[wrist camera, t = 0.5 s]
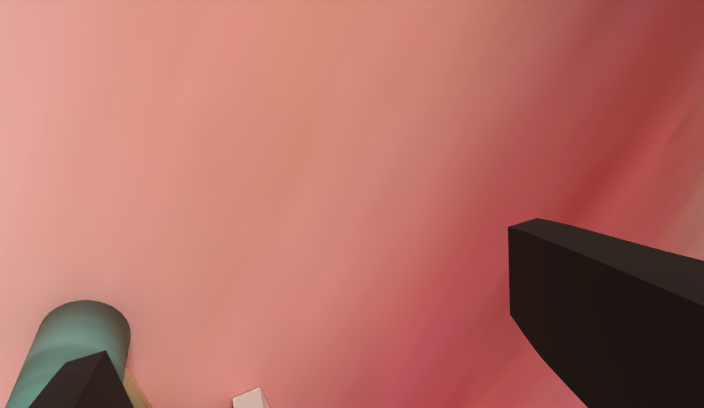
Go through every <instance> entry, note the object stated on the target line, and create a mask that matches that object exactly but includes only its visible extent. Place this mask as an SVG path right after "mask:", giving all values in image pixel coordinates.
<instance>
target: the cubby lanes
mask: <svg viewBox="0 0 704 408" xmlns="http://www.w3.org/2000/svg"><path fill="white" fill-rule="evenodd" d="M233 407H234V408H269V406H268V404H267V402H266V399H265V397H264V395H263V393H262V391H261V389H260V387H258V388H256V389H253V390H251V391H249V392H246V393H244V394H242V395H239V396H237V397H234V398H233Z"/></svg>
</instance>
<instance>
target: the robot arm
mask: <svg viewBox="0 0 704 408" xmlns="http://www.w3.org/2000/svg"><path fill="white" fill-rule="evenodd" d="M508 244H509V289H510V315H511V316H512V318H513V319H514V321H515V322H516V323H517V325H518V326H519V328H520V329H521V331H522V332H523V334H524V335H525V336H526V338H527V339H528V340H529V342H530V343H531V345H532V346H533V347H534V349H535V350H536V351H537V353H538V354H539V355H540V357H541V358H542V359H543V360H544V361H545V362H546V363H547V364H548V365H549V367H550V368H551V369H552V370H553V371H554V372H555V373H556V374H557V375H558V376H559V377H560V378H561V380H562V381H563V382H564V383H565V384H566V385H567V386H568V387H569V388H570V389H571V390H572V391H573V392H574V393H575V394H576V396H577V397H578V398H579V399H580V400H581V401H582V402H583V403H584V404H585V405H586V406H587V407H588V408H704V261H702V260H698V259H694V258H690V257H686V256H682V255H678V254H674V253H670V252H666V251H663V250H659V249H655V248H651V247H648V246H644V245H640V244H636V243H633V242H629V241H626V240H622V239H618V238H615V237H611V236H608V235H604V234H600V233H597V232H593V231H589V230H586V229H582V228H578V227H574V226H570V225H567V224H563V223H558V222H554V221H549V220H544V219H539V218H536V219H533V220H529V221H526V222H523V223H520V224H516V225H513V226H510V227H508ZM28 408H134V406H133V404H132V402H131V400H130V398H129V396H128V394H127V392H126V390H125V388H124V386H123V384H122V382H121V380H120V378H119V376H118V374H117V371H116V369H115V367H114V365H113V363H112V361H111V359H110V357H109V355H108V353H107V351H106V350H104V351H101V352H98V353H95V354H91V355H88V356H85V357H82V358H78V359H75V360H72V361H68V362H66V363H65V364H64V365H63V366H62V367H61V368H60V369H59V370H58V372H57V373H56V374H55V375H54V376H53V377H52V379H51V380H50V381H49V382H48V384H47V385H46V386H45V387H44V388H43V390H42V391H41V392H40V393H39V395H38V396H37V397H36V398H35V400H34V401H33V402H32V404H31V405H30V406H29V407H28Z"/></svg>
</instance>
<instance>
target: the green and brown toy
mask: <svg viewBox="0 0 704 408" xmlns="http://www.w3.org/2000/svg"><path fill="white" fill-rule="evenodd" d="M129 342H130V327H129V324H128V322H127V320H126V318H125V317H124V316H123V315H122V314H121V313H120V312H119V311H118V310H117V309H115V308H113V307H112V306H110V305H107V304H105V303H101V302H97V301H89V300H83V301H75V302H70V303H67V304H64V305H62V306H59V307H57V308H56V309H54V310H53V311H51V312H50V313H49V314H48V315H47V316H46V317H45V318H44V320H43V321H42V323H41V325H40V327H39V329H38V332H37V334H36V336H35V339H34V341H33V343H32V346H31V348H30V351H29V353H28V355H27V358H26V360H25V362H24V365H23V367H22V369H21V372H20V374H19V376H18V379H17V381H16V383H15V386H14V388H13V391H12V393H11V395H10V398H9V400H8V402H7V405H6V407H5V408H28V407H29V406H30V405H31V404H32V402H33V401H34V400H35V398H36V397H37V396H38V395H39V393H40V392H41V391H42V390H43V388H44V387H45V386H46V385H47V384H48V382H49V381H50V380H51V379H52V377H53V376H54V375H55V374H56V373H57V372H58V370H59V369H60V368H61V367H62V366H63V365H64V364H65V363H66V362H68V361H72V360H75V359H78V358H82V357H85V356H88V355H91V354H95V353H98V352H101V351H104V350H106V351H107V353H108V355H109V357H110V359H111V361H112V363H113V365H114V367H115V369H116V371H117V374H118V376H119V378H120V380H121V382H122V384H123V386H124V388H125V390H126V392H127V394H128V396H129V398H130V400H131V402H132V404H133V406H134V408H152V407H151V405H150V404H149V402H148V401H147V399H146V397H145V396H144V394H143V393H142V391H141V390H140V388H139V386H138V385H137V383H136V382H135V380H134V379H133V377H132V375H131V374H130V372H129V371H128V369H127V368H126V361H127V355H128V348H129Z"/></svg>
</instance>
